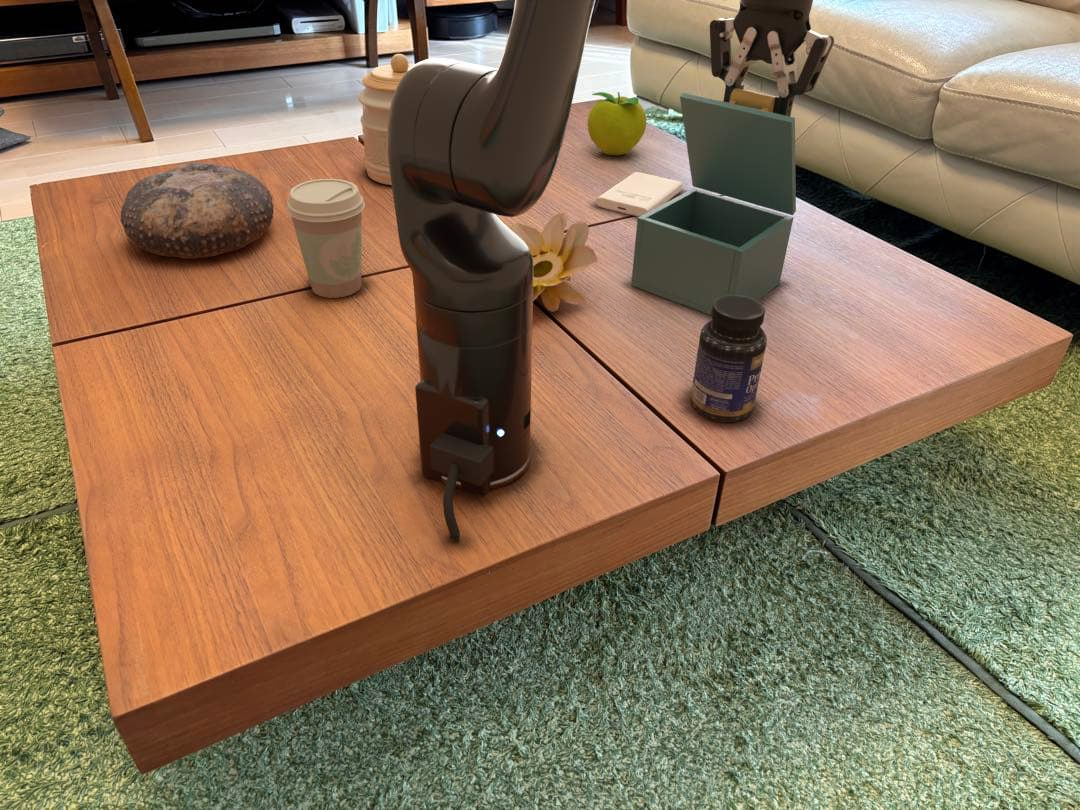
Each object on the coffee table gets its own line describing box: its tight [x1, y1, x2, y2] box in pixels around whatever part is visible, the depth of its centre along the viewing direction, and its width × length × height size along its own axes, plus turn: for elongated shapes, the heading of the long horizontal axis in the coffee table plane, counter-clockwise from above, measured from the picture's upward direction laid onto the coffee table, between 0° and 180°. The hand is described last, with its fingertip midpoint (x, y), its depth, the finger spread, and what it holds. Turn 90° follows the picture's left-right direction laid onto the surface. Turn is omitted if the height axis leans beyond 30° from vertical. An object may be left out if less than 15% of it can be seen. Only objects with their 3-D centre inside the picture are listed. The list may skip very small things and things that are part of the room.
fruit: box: [587, 91, 647, 157], centre depth 138 cm, size 9×9×10 cm
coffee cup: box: [286, 178, 366, 299], centre depth 96 cm, size 8×8×12 cm
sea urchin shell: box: [120, 162, 275, 259], centre depth 108 cm, size 19×19×10 cm
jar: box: [357, 53, 415, 186], centre depth 126 cm, size 13×13×18 cm
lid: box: [679, 88, 797, 216], centre depth 96 cm, size 13×14×5 cm
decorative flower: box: [509, 212, 598, 313], centre depth 97 cm, size 15×11×10 cm
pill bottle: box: [690, 295, 768, 423], centre depth 78 cm, size 6×6×11 cm
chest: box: [630, 187, 794, 316], centre depth 100 cm, size 13×14×9 cm
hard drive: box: [596, 171, 684, 218], centre depth 124 cm, size 2×8×12 cm
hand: (753, 123), depth 95 cm, fingers closed on lid, 5 cm apart
